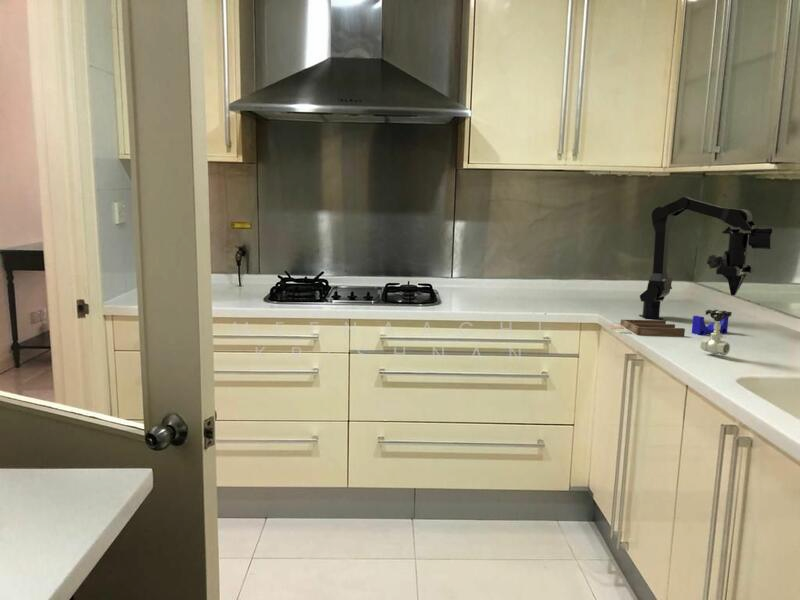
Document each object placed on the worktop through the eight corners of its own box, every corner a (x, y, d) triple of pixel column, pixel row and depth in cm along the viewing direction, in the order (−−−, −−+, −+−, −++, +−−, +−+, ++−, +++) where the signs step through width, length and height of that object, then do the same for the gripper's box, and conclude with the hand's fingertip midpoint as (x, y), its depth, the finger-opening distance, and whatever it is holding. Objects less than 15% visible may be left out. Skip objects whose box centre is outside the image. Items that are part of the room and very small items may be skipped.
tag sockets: (605, 326, 220) (606, 319, 220) (664, 327, 221) (664, 320, 221) (621, 335, 205) (622, 327, 205) (684, 336, 206) (684, 328, 206)
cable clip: (715, 331, 217) (717, 313, 216) (726, 333, 213) (728, 315, 212) (688, 333, 213) (689, 315, 212) (698, 335, 209) (700, 317, 208)
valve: (710, 350, 187) (714, 308, 185) (732, 355, 181) (736, 312, 179) (696, 352, 183) (700, 310, 182) (718, 357, 178) (722, 314, 176)
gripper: (721, 245, 226) (717, 290, 228) (701, 247, 212) (697, 294, 215) (756, 247, 218) (751, 294, 220) (738, 249, 205) (733, 298, 207)
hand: (733, 295), depth 216 cm, fingers closed
